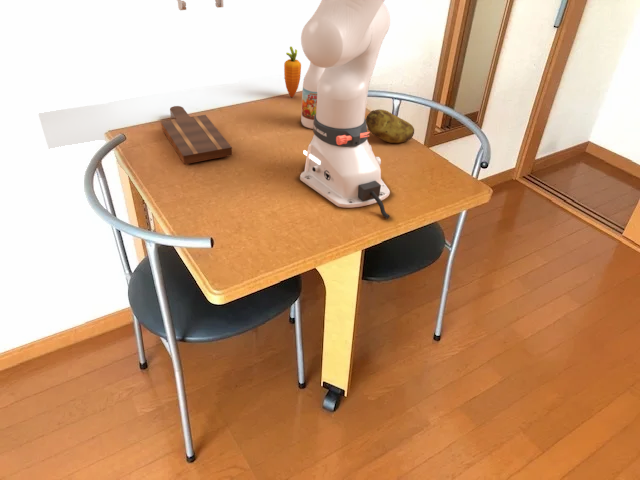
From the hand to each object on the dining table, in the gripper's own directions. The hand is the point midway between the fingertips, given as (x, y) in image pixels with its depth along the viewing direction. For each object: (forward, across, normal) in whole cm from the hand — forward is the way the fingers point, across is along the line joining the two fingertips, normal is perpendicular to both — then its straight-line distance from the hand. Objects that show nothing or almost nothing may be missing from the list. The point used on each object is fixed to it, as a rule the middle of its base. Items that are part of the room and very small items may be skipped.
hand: (201, 8), depth 136 cm
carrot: (+29, +28, +5) cm, 41 cm away
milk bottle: (+29, +26, -14) cm, 42 cm away
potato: (+29, +40, -30) cm, 58 cm away
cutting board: (+29, -8, -10) cm, 32 cm away
